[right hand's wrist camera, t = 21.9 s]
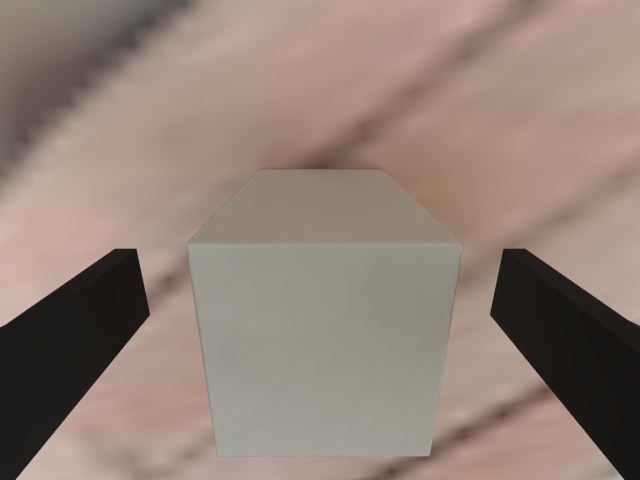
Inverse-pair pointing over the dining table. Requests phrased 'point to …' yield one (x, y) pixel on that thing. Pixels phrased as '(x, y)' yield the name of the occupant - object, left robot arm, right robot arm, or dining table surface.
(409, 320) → the block
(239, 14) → the dining table surface
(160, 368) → the dining table surface
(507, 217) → the dining table surface
